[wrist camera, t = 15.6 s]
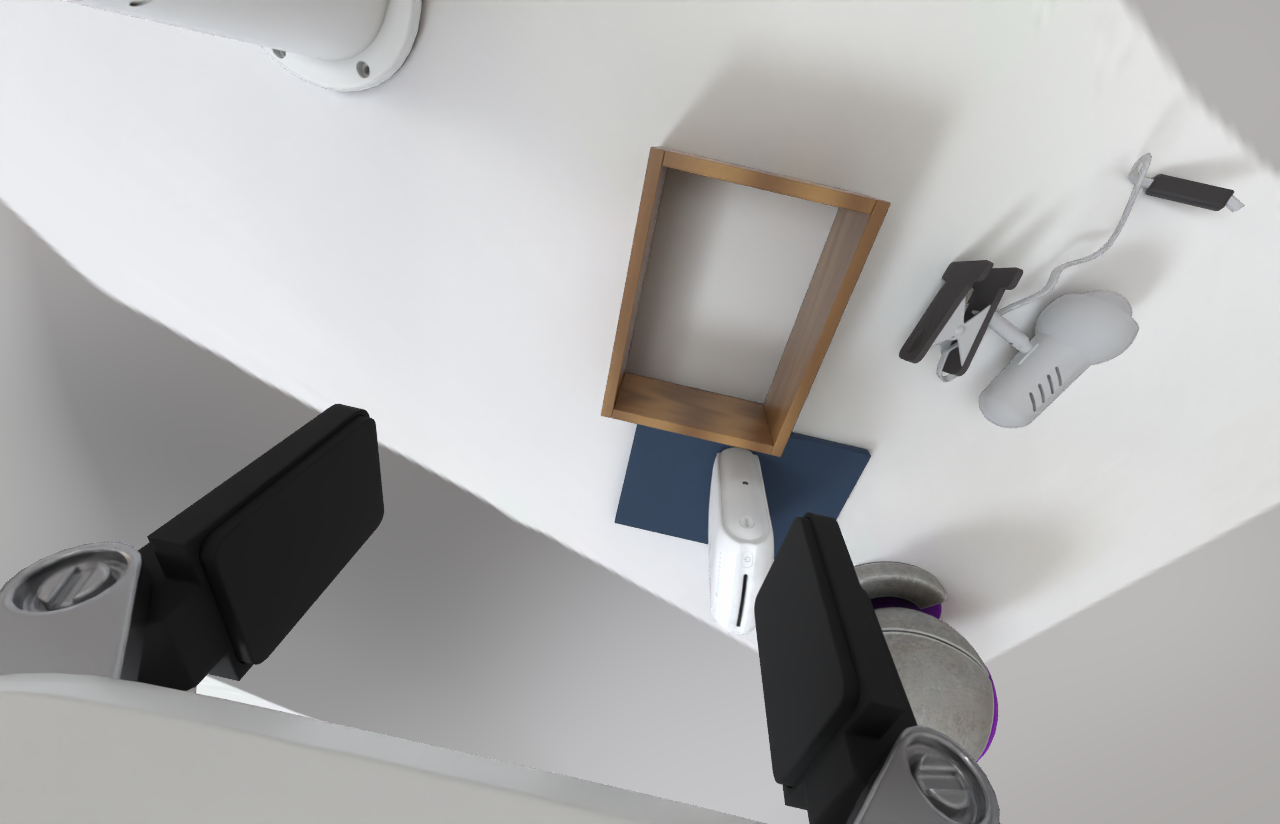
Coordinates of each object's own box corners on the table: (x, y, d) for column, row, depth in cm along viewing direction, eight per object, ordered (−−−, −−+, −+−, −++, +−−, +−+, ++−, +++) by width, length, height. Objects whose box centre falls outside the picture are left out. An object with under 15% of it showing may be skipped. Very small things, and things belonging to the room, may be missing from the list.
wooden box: (614, 378, 40) (600, 415, 35) (659, 146, 32) (650, 146, 26) (769, 414, 40) (780, 457, 35) (857, 192, 32) (891, 203, 26)
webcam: (909, 654, 53) (976, 818, 40) (796, 631, 53) (828, 787, 40) (967, 575, 47) (1069, 740, 34) (838, 550, 47) (892, 704, 34)
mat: (615, 516, 48) (614, 523, 47) (643, 397, 41) (642, 403, 40) (807, 560, 48) (809, 567, 47) (867, 449, 41) (871, 456, 40)
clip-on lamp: (1069, 120, 31) (876, 344, 36) (1167, 80, 25) (919, 358, 29) (1194, 229, 32) (992, 433, 37) (1317, 218, 26) (1056, 463, 31)
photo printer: (712, 443, 41) (716, 547, 31) (762, 446, 41) (785, 552, 30) (705, 531, 46) (707, 647, 36) (750, 534, 46) (765, 653, 35)
